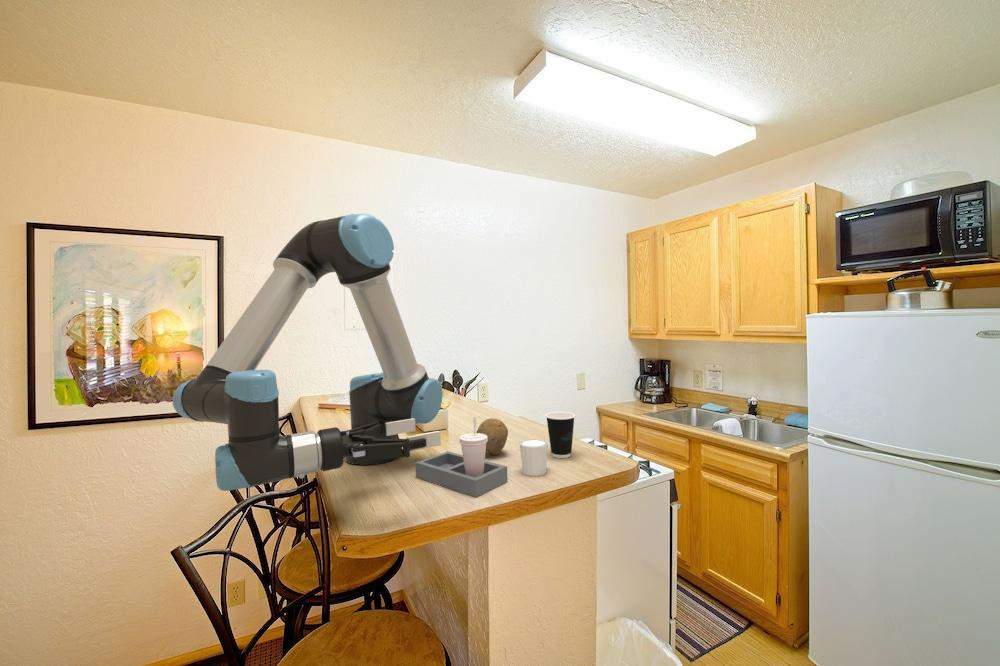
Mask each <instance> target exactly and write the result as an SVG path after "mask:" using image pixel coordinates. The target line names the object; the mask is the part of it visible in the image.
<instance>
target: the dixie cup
mask: <svg viewBox="0 0 1000 666" xmlns="http://www.w3.org/2000/svg"><path fill="white" fill-rule="evenodd" d="M575 417H576V415H575V414H574V413H573V412H567V411H553V412H548V413H546V414H545V418H546V423H547V432H548V440H549V445H550V452H551V455H552V457H553V458H555V457H556V458H555V459H560V458H564V459H569V458H570V457H571V453H572V452H573V451H572V450H573V449H572V448H573V438H574V437H573V436H574V425H575V424H574V423H575ZM568 457H569V458H568Z"/></svg>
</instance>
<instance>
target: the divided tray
mask: <svg viewBox="0 0 1000 666" xmlns="http://www.w3.org/2000/svg"><path fill="white" fill-rule="evenodd" d="M414 464H415V477H416V478H417V477H418V479H420V478H421V479H420V480H423V479H425V480H424V481H426V480H428V481H427V482H429V481H431V482H430V483H432V482H434V483H433V484H435V483H437V484H436V485H438V484H440V485H439V486H441V485H443V486H442V487H444V486H446V487H445V488H447V487H448V489H450V488H451V489H450V490H453V489H454V491H456V490H457V491H456V492H459V491H460V492H459V493H462V492H463V493H462V494H464V493H465V494H464V495H467V494H468V495H467V496H470V495H471V497H473V496H475V497H474V498H478V497H480V496H481V495H484V494H486V493H488V492H490V491H492V490H494V489H496V488H497V487H498V488H499V487H500V486H502V485H505V484H506V483H507V482H508V466H507V465H503V464H500V463H499V464H498V463H495V462H492V461H487V460H485V463H484V474H483V475H480V476H478V477H476V478H475V477H471V476H468V475H466V473H465V466H464V460H463V454H460V453H456V452H453V451H445V452H442V453H439V454H435V455H433V456H430V457H427V458H424V459H421V460H419V461H418V460H417V461H416V462H415V463H414ZM479 495H480V496H479Z"/></svg>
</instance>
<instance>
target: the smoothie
mask: <svg viewBox="0 0 1000 666" xmlns="http://www.w3.org/2000/svg"><path fill="white" fill-rule="evenodd" d="M476 432H477V417H476V416H473V433H466V434H465V433H464V434H463V435H460V437H459V443H460V444H461V445H460V447H461V452H462V455H463V460H464V466H465V473H466V475H468V476H471V477H475V478H476V477H478V476H480V475H483V474H484V463H485V461H486V452H487V451H486V442H487V441H488V437H487V435H485V434H481V433H476Z"/></svg>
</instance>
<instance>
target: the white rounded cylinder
mask: <svg viewBox="0 0 1000 666" xmlns="http://www.w3.org/2000/svg"><path fill="white" fill-rule="evenodd" d="M548 447H549V443H548V442H547V441H546V440H542V439H524V440H522V441H520V442H519V449H520V450H519V451H520V460H521V466H522V473H523V474H524V475H525V476H528V477H529V476H530V477H539V476H543V475H545V474H546V473H547V464H548V450H549V448H548Z"/></svg>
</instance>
